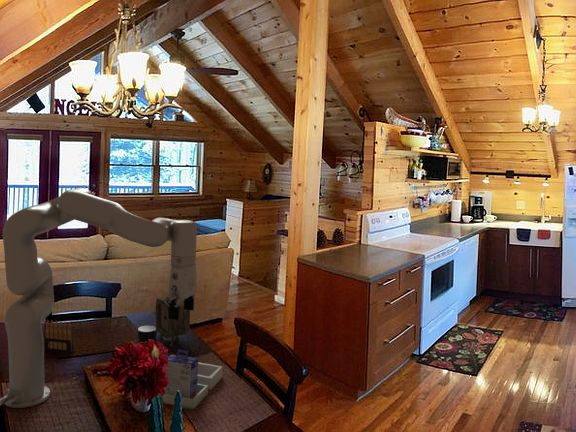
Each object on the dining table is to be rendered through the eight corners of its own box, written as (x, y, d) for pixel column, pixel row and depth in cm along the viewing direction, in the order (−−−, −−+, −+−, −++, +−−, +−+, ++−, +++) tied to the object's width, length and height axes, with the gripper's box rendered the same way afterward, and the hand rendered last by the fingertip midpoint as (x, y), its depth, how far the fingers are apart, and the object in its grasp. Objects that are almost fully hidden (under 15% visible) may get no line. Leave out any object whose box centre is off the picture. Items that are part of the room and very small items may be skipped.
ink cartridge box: (198, 394, 156) (199, 351, 154) (190, 402, 151) (191, 357, 149) (170, 388, 159) (171, 346, 157) (161, 396, 153) (162, 353, 151)
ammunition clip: (44, 350, 184) (43, 320, 183) (47, 348, 186) (46, 318, 184) (70, 353, 183) (70, 322, 181) (73, 351, 185) (73, 321, 183)
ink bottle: (133, 355, 184) (133, 325, 182) (156, 352, 187) (157, 322, 186) (136, 366, 175) (136, 334, 173) (161, 363, 179) (161, 331, 177)
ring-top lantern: (155, 337, 202) (156, 279, 199) (175, 333, 208) (176, 276, 204) (169, 349, 191) (170, 287, 188) (190, 345, 196) (191, 285, 193)
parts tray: (193, 409, 148) (193, 400, 147) (151, 401, 151) (151, 392, 151) (207, 394, 158) (208, 385, 157) (168, 386, 161) (168, 377, 161)
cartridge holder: (210, 389, 161) (211, 378, 160) (173, 382, 164) (173, 371, 164) (222, 377, 170) (222, 366, 169) (187, 370, 173) (187, 360, 173)
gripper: (180, 267, 140) (178, 325, 142) (206, 256, 156) (204, 308, 158) (157, 264, 142) (155, 321, 144) (185, 254, 158) (183, 304, 160)
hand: (181, 314), depth 151 cm, fingers open, 9 cm apart
